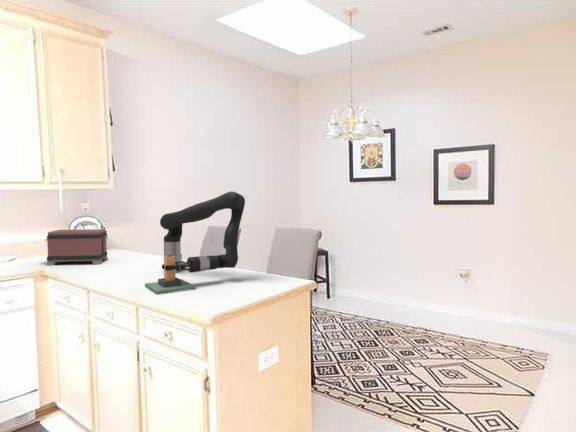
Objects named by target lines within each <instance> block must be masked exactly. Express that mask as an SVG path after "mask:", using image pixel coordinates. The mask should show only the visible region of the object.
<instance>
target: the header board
mask: <svg viewBox="0 0 576 432" xmlns="http://www.w3.org/2000/svg"><path fill="white" fill-rule="evenodd" d="M144 287H145V288H146V289H148V290H149V291H151V292H153V293H154V294H155V295H163V294H162V293H164V294H169V293H168V292H171V293H174V292H173V291H178V292H180V291H179V290H185V291H187V290H186V289H192V290H196V285H194V284H192V283H190V282H189V281H187V280H184V279H183V278H178V277H176V276H175V280H173V281H164V277H163V278H158V279H157V281H155V282H146V283H144Z"/></svg>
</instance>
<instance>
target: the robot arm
mask: <svg viewBox="0 0 576 432" xmlns="http://www.w3.org/2000/svg"><path fill="white" fill-rule="evenodd" d="M245 203H246V200H245V197H244V195H242V194H240V193H237V192H236V191H228V192H225V193H223V194H220V195H219V196H217V197H214V198H211V199H208V200H205V201H203V202H199V203H195V204H193V205H191V206H188V207H186V208H183V209H181V210H178V211H173V212H170V213H165V214H163V215H162V216H161V217H160V220H159V224H160V227H161V228H163V229H164V230H168V232H167V233H166V235H164V237H163V257H164V256H167V255H172V256H175V265H174V266H173V265H170V266H165V270H166V271H169V270H173V269H174V271H175V273H180V272H182V271H188V272H189V273H200V272H206V271H213V270H217V269H223V268H224V269H225V268H227V269H228V268H230V269H231V268H235V267H236V266H237V264H238V262H239V255H238V254H239V252H238V238H239V230H240V226H241V221H242V217H243V213H244V209H245V205H246V204H245ZM227 209H229V210H231V217H230V220H229V223H228V224H227V226H226V228H225V230H224V235H223V236H224V237H223V248H224V249H225V254H218V255H200V256H199V255H198V256H189V257H188V258H187V259H186V261H185V260H183V259H182V258H183V255H182V251H181V250H182V248H181V246H182V245H181V242H182V241H181V239H182V235H183V224H184V225H185V224H190V223H196V222H199V221H203V220H206V219H209V218H211V217H212V216H213V215H214V214H215V213H216V212H218V211H222V210H227ZM161 269H162V270H164V263H163V264H161Z"/></svg>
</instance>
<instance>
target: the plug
mask: <svg viewBox="0 0 576 432" xmlns="http://www.w3.org/2000/svg"><path fill="white" fill-rule="evenodd" d="M163 264H164V269H163V278H164V281H173V280H175V277H176V272H175V271H174V269H173V270H169V271H166V270H165V266H170V265H173V266H174V265H175V256H172V255H167V256H164V255H163Z"/></svg>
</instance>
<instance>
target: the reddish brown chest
mask: <svg viewBox="0 0 576 432" xmlns="http://www.w3.org/2000/svg"><path fill="white" fill-rule="evenodd" d="M45 241H46V243H47V257H46V261H47V262H46V265H45V266H48V267H50V266H51V267H53V265H54V266H56V265H57V264H58V263H60V262H61V263H62V262H63V263H64V262H92V263H91V264H92V266H95V265H97V266H99V265H102V264H103V262H107V261H109V257H108V252H107V232H106V229H105V228H104V229H103V228H101V229H98V228H97V229H94V228H93V229H89V228H88V229H87V228H86V229H56V230H52V231H48V232H47V236H46V239H45Z"/></svg>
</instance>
